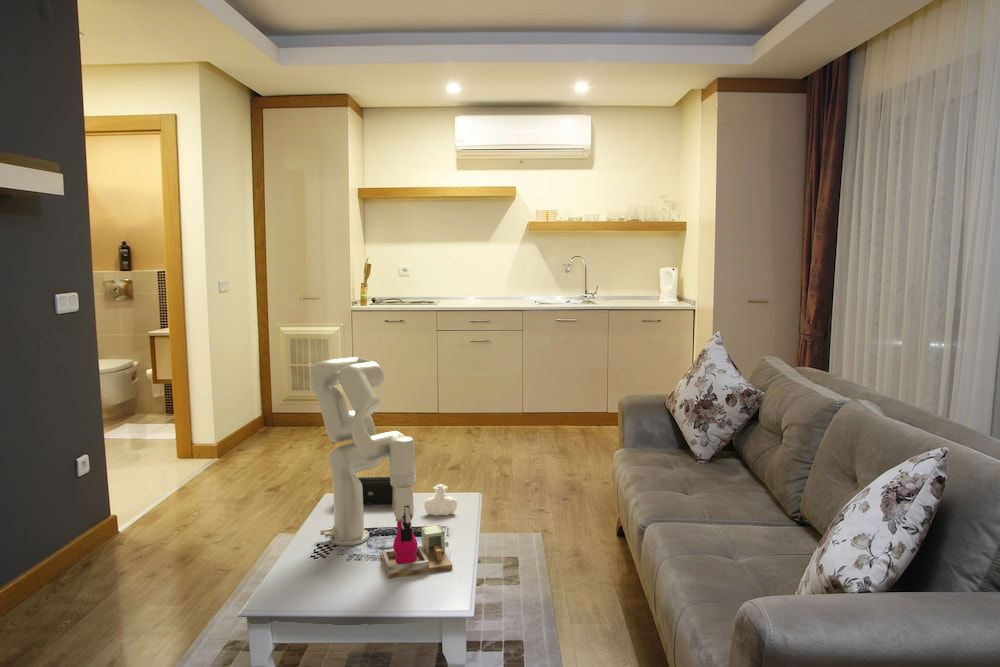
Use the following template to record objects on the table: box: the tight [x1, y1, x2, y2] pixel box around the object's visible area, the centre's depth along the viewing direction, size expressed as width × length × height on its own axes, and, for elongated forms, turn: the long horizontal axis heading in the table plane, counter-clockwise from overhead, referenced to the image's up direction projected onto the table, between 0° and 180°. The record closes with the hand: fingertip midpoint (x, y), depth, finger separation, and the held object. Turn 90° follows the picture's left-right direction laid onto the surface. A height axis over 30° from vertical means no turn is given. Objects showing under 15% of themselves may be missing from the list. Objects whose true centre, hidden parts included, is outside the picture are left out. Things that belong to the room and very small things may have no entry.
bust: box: [423, 483, 458, 517], centre depth 259 cm, size 12×8×11 cm
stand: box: [379, 545, 453, 580], centre depth 217 cm, size 19×16×4 cm
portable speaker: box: [357, 476, 393, 505], centre depth 270 cm, size 26×10×10 cm, turn 92°
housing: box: [421, 524, 446, 554], centre depth 223 cm, size 6×6×6 cm
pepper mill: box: [392, 506, 419, 564], centre depth 213 cm, size 7×7×20 cm
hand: (404, 536), depth 213 cm, fingers closed on pepper mill, 5 cm apart
